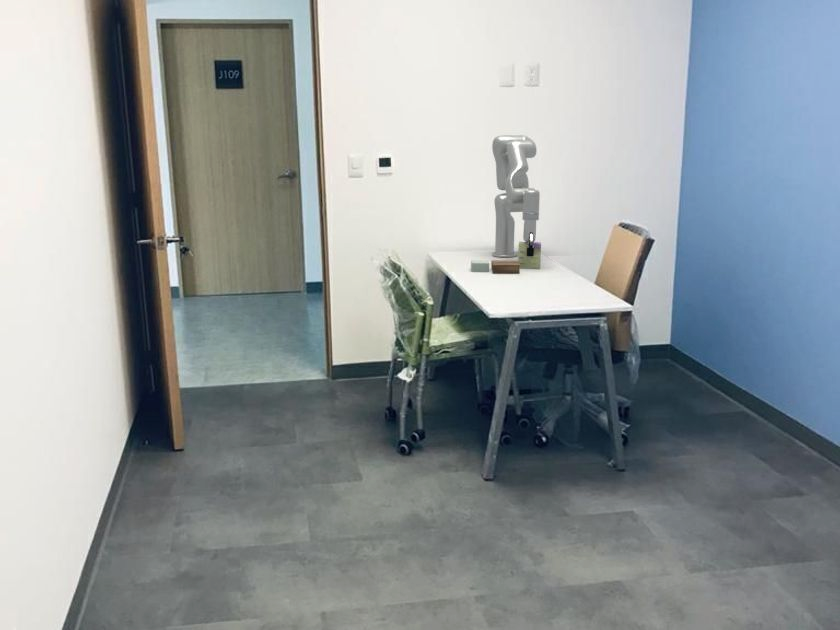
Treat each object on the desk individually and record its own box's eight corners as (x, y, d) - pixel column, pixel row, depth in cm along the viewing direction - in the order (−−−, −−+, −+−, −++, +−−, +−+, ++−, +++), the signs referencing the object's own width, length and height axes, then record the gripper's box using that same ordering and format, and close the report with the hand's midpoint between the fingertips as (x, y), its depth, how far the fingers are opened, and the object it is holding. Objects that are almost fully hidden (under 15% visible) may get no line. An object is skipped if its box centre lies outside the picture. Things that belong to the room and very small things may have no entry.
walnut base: (491, 268, 374) (491, 260, 373) (516, 268, 374) (517, 260, 373) (492, 273, 362) (493, 264, 361) (519, 273, 362) (519, 265, 361)
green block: (470, 268, 374) (471, 260, 373) (488, 268, 374) (488, 260, 373) (471, 271, 366) (471, 263, 366) (489, 271, 366) (489, 263, 365)
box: (539, 266, 380) (540, 241, 377) (540, 268, 374) (541, 243, 371) (517, 266, 381) (518, 241, 378) (517, 268, 375) (518, 243, 372)
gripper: (520, 214, 380) (519, 252, 384) (524, 218, 363) (523, 258, 368) (536, 214, 380) (535, 252, 384) (541, 218, 363) (539, 258, 368)
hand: (529, 254), depth 376 cm, fingers closed on box, 5 cm apart
